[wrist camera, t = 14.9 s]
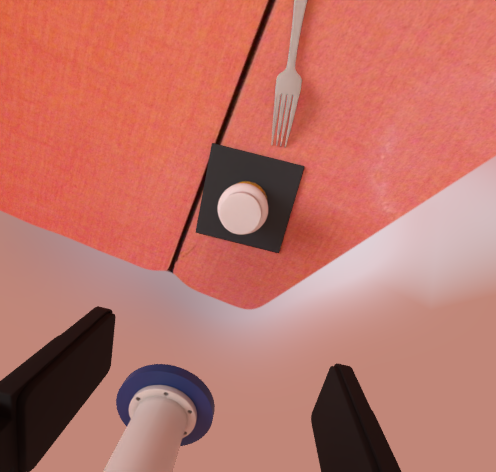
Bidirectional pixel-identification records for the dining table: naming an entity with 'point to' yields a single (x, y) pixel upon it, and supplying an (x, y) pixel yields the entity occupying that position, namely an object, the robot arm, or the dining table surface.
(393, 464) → the robot arm
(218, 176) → the mat
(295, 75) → the fork
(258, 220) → the supplement bottle
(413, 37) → the dining table surface
